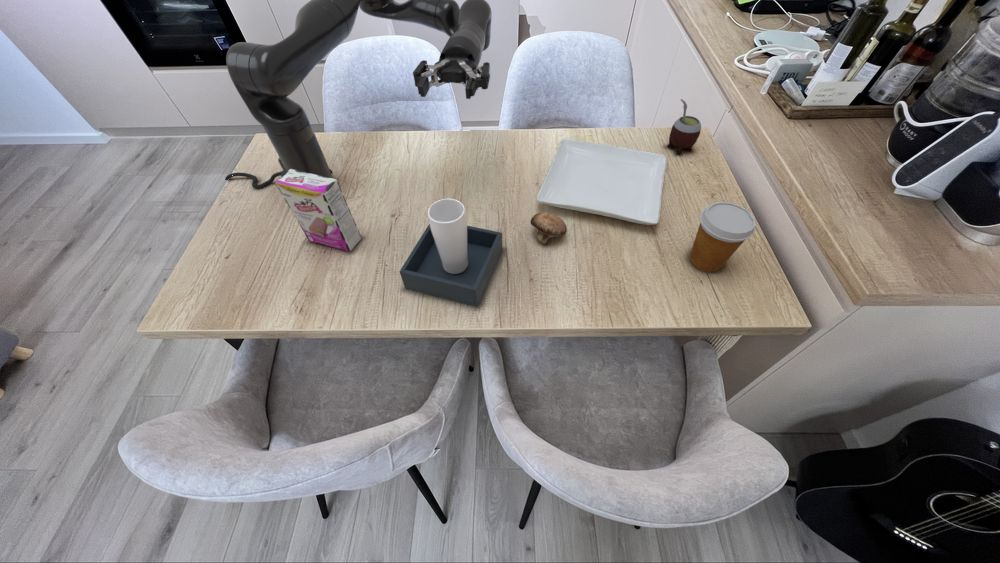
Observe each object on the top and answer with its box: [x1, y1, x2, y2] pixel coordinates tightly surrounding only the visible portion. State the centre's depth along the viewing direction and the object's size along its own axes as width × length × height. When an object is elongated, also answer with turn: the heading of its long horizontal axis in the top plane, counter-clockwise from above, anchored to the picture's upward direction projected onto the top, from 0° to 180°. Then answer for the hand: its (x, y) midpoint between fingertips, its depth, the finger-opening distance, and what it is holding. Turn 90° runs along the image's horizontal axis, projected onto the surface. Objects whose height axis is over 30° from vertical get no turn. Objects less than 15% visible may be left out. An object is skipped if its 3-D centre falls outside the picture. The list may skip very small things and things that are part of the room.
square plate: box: [535, 138, 668, 226], centre depth 96 cm, size 27×27×4 cm
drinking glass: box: [427, 198, 468, 274], centre depth 76 cm, size 7×7×15 cm
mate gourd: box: [666, 98, 702, 156], centre depth 101 cm, size 8×8×15 cm
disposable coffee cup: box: [689, 201, 757, 273], centre depth 77 cm, size 10×10×12 cm
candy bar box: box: [275, 169, 362, 253], centre depth 82 cm, size 11×5×16 cm, turn 71°
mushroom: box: [530, 211, 568, 245], centre depth 86 cm, size 8×8×6 cm
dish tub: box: [399, 223, 504, 308], centre depth 80 cm, size 16×16×5 cm
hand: (444, 92), depth 72 cm, fingers open, 8 cm apart
